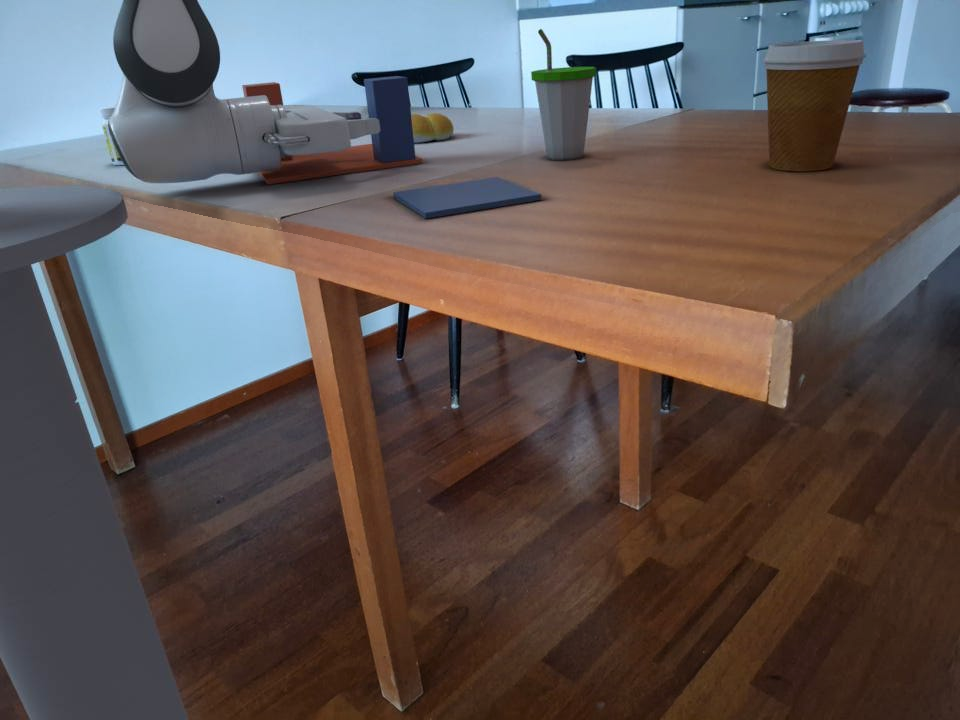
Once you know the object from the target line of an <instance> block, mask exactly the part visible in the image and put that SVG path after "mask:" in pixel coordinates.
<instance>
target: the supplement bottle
mask: <svg viewBox="0 0 960 720" xmlns="http://www.w3.org/2000/svg"><path fill="white" fill-rule="evenodd" d="M115 107H116V105H109V106H104V107H100V108H99V110H100V114H101V116H102V117H101V118H103V119H104V120H103V121H102V122H101V127H102V130H103V131H102V132H103V134H104V138H105V142H106V145H107V149H108V153H109V156H110V159H111V162H112V165H114V166H125V165H124V163H123V162H122V160H121V158H120V156H119V154H118V152H117V150H116V148H115V146H114V143H113V141H112V137H111V135H110V132H109V128H108V121H109V118H110V117H111V116H112V114H113V112H114V109H115Z"/></svg>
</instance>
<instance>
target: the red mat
mask: <svg viewBox="0 0 960 720" xmlns="http://www.w3.org/2000/svg"><path fill="white" fill-rule="evenodd" d="M292 157H293V160H286V161H281V168H280V169H279V170H273V171H265V172H258V173H257V174H259V175H260V177H261V178H262V180H263V181H264V182H265V183H266V185H274V184H281V183H289V182H296V181H304V180H310V179H317V178H318V179H319V178H325V177H334V176H341V175H346V174H347V175H348V174H353V173H363V172H367V171H368V172H369V171H374V170H375V171H376V170H385V169H391V168H396V167H398V168H399V167H404V166H405V167H406V166H412V165H418V164H423V158H422V157H419V156H416V155H415V157H416V159H412V160H404V161H397V162H390V163H381V162H379V161H377V160H375V159H374V155H373V147H372V143H366V144H359V145H351V147H350V148H349V149H347V150H344V151H338V152H329V153H319V154H309V155H292Z"/></svg>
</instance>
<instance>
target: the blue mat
mask: <svg viewBox="0 0 960 720" xmlns="http://www.w3.org/2000/svg"><path fill="white" fill-rule="evenodd" d="M392 194H393V199H395V200H397V201H398V202H399V203H401V204H403V205H404V206H406V208H409V209H411V210H412V211H413V212H415V213H416V214H418V215H419V216H421V217H422V218H424V219H425V220H427V219H432V218H433V219H434V218H439V217H440V218H441V217H447V216H451V215H459V214H464V213H470V212H476V211H477V212H478V211H481V210H488V209H489V210H490V209H495V208H500V207H506V206H514V205H519V204H526V203H530V202H538V201H542V194H541V193H539V192H537V191H534V190H532V189H530V188H526V187H524V186H523V185H519V184H516V183H513V182H512V181H509V180H507V179H504V178H501V177H498V176H493V177H487V178H480V179H479V178H478V179H473V180H467V181H465V180H464V181H460V182H459V181H458V182H453V183H446V184H438V185H432V186H427V187H426V186H425V187H420V188H412V189H406V190H400V191H393V192H392Z"/></svg>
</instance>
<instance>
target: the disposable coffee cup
mask: <svg viewBox="0 0 960 720" xmlns="http://www.w3.org/2000/svg"><path fill="white" fill-rule="evenodd" d="M864 49H865V48H864V40H863V39H862V40H861V39H834V40H833V39H832V40H811V41H797V42H785V43H776V44H775V43H774V44H770V45H768V48H767V52H766V54H765V58H763V59H761V60H762V63H764V69H766V94H767V95H766V101H767V104H766V105H767V132H768V133H767V134H768V166H769V167H770V168H772V169H775V170H779V171H787V172H817V171H823V170H827V169H831V168H833V167H834V163H835V160H836V156H837V153H838V149H839V145H840V141H841V138H842V137H841V136H842V134H843V131H844V126H845V122H846V119H847V115H848V111H849V108H850V103H851V99H852V96H853V93H854V89H855V85H856V82H857V77H858V74H859V69H860V67H861V65H862V64H863V62H864V59H865V58H867V55H868V54H866V53H865V50H864Z"/></svg>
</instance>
